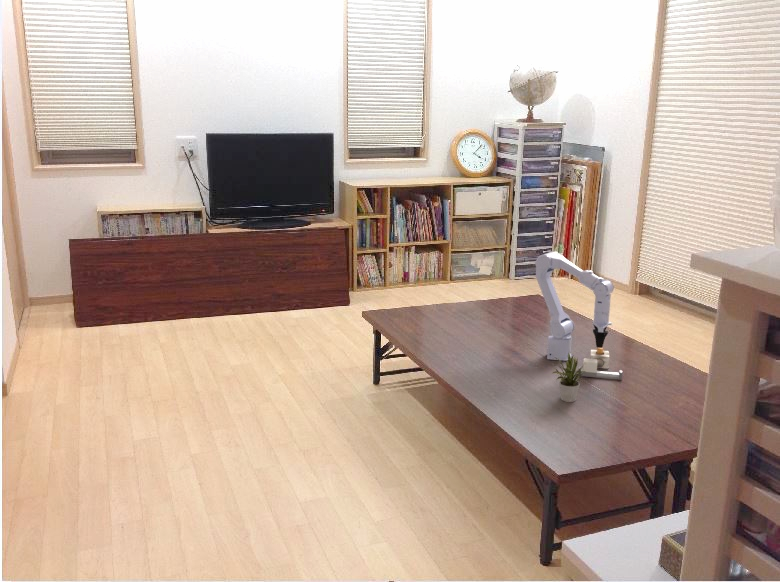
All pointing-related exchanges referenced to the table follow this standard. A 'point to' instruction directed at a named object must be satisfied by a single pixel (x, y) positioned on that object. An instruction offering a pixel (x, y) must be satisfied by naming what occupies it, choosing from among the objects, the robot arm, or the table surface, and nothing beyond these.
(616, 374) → the rail
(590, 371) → the block
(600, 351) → the plunger
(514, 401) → the table surface
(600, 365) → the cream cage with ball
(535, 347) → the table surface
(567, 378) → the house plant
